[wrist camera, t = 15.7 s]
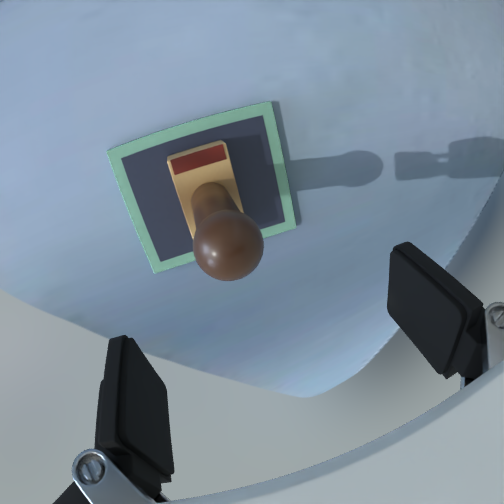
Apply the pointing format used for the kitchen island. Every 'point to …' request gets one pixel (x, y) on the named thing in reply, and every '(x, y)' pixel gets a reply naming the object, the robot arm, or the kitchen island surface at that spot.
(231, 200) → the stamp
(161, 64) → the kitchen island surface
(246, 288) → the kitchen island surface
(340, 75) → the kitchen island surface
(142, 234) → the ink pad
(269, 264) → the kitchen island surface
